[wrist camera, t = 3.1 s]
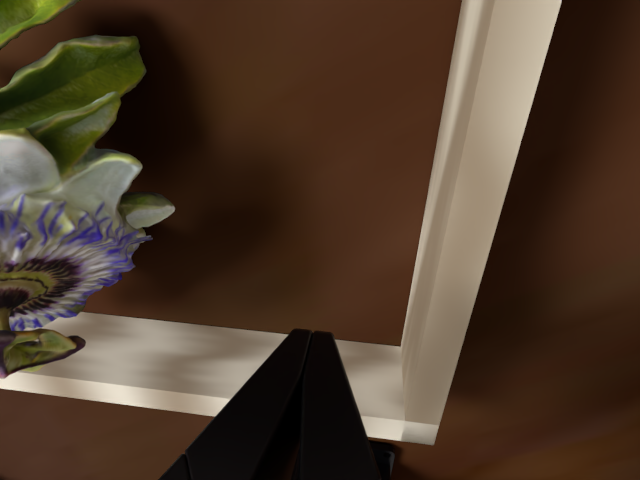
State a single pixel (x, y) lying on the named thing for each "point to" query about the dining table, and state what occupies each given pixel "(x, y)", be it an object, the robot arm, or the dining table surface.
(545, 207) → the dining table surface
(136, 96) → the dining table surface
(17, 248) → the passion flower
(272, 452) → the robot arm
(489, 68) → the pale wooden open frame
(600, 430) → the dining table surface
